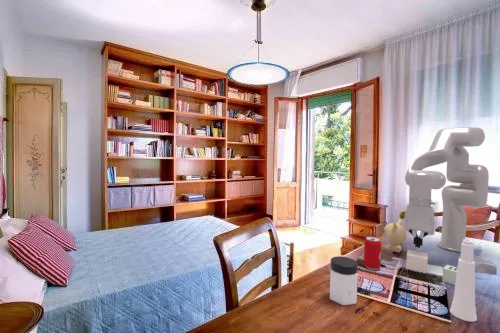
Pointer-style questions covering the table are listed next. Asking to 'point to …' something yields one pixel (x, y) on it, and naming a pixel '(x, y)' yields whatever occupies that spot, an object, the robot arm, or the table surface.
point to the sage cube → (449, 274)
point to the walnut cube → (386, 252)
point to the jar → (343, 280)
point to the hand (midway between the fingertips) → (417, 246)
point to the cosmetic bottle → (465, 285)
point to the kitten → (394, 235)
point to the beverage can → (372, 253)
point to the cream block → (417, 261)
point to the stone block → (483, 265)
